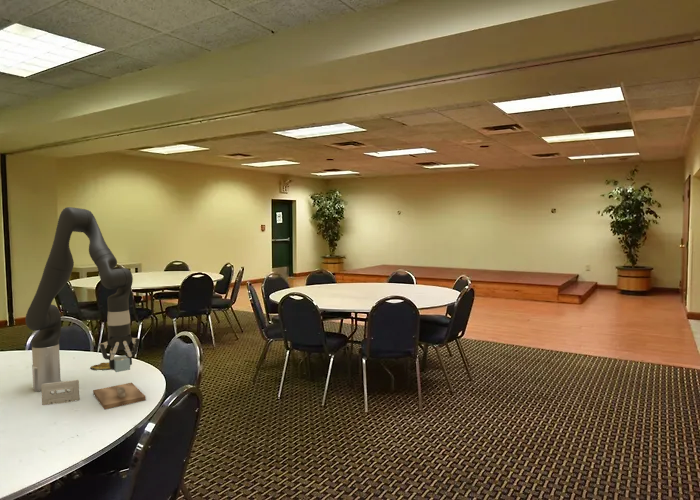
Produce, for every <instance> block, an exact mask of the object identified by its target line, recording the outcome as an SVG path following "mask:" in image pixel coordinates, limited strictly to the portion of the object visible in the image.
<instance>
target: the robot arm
mask: <svg viewBox="0 0 700 500" xmlns="http://www.w3.org/2000/svg"><path fill="white" fill-rule="evenodd" d="M73 233H83V234H85V236H86V237H87V238H88V240H89V245H88V254H89V257H90V258H91V260H92V262H94V265H95V267H97V271H98V274H99V279H100V283H101V285H102V286H103V287H104V288H106V289H107V290H112V289H117V290H116V292H115V293H112V294H111V295H108V297H107V301H106V302H107V319H106V320H107V321H106V322H107V340H106V341H104V342H99V343H98V346H99V348H100V352H101V355H102V358H103V359H104V360H108V362H109V367H110V368H111V369H112V370H111V371H114V370H115V367H114V357H116V356H115V355H116V353H117V352H118V351H120V350H121V351H122V350H123V351H125V353H126V354H125V355H126V356H127V357H128V358H129V359H130V366H132V365H133V356H135V355H137V354H138V349H139V346H140V341H141V340H140V338H139V337H132V334H131V332H132V331H131V315H130V314H131V313H130V309H129V308H130V303H129V298H130V294H131V291H132V290H131V289H132V286H133V281H134V278H133V273H132V272H131V270H130V269H128V268H126V267H125V268H124V267H123V268H115V267H117V265H118V260H117V258H116V255H114V253H113V252H112V251H111V249H110V247H109V246H108V244H107V243H106V241H105V238H104V236H103V233H102V230H101V229H100V226H99V224H98V221H97V219H96V217H95V215H94V214H93V213H92V212H91V210H89V209H85V208H79V207H70V206H69V207H68V206H66V207H65V208H63V209H62V211H61V212H60V214H59V217H58V219H57V225H56V228H55V233H54V234H55V235H54V238H53V242H52V246H51V248H50V252H49V255H48V257H47V260H46V263H45V265H44V268H43V273H42V276H41V278H40V281H39V284H38V287H37V289H36V291H35V294H34V297H33V299H32V301H31V303H30V305H29V307H28V308H27V311H26V314H25V318H24V319H25V325H26V328H28V329H29V330H30V331H35V332H36V331H39V332H38V334H37V335H36V336H35V337H34V338H33V339H32V340H31V354H32V358H31V359H32V364H31V370H32V388H33V392H42V390H41V385H42V384H46V383H54V382H62V380H61V362H60V360H61V359H60V338H61V334H62V314H61V311H60V309H59V307H58V306H56V305H55V304H52V303H53V301H54V299H55V298H56V297H57V295H58V294H59V293H60V292H61V290H62V289H64V287H65V286H66V284H67V283H68V282H69V280H70V278H71V275H72V272H73V270H74V269H73V268H74V263H75V262H74V257H73V255H72V252H71V249H70V240H71V236H72V234H73ZM131 343H132V344H133V345H132V350H131V349H130V347H129V346H130V344H131ZM108 346H109V347H110V351H109V355H108V353H107V350H106V349H107V347H108Z"/></svg>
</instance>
